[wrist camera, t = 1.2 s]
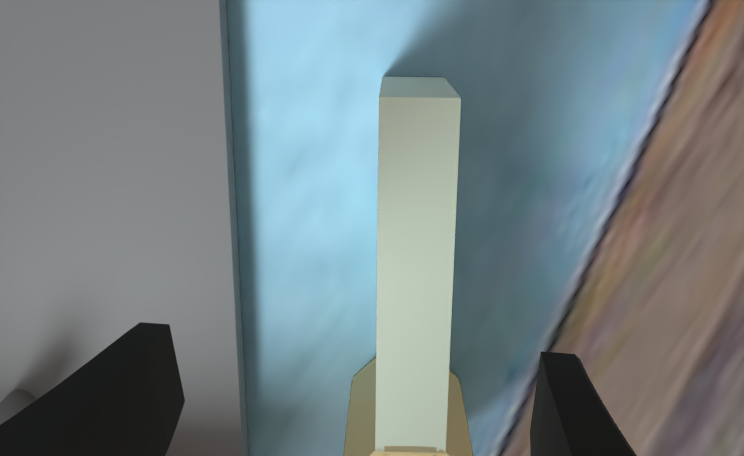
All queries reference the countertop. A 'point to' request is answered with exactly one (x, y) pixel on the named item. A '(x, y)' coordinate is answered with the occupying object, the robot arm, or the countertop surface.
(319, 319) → the countertop surface
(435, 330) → the door
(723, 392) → the countertop surface
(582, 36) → the countertop surface
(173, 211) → the cabinet base
